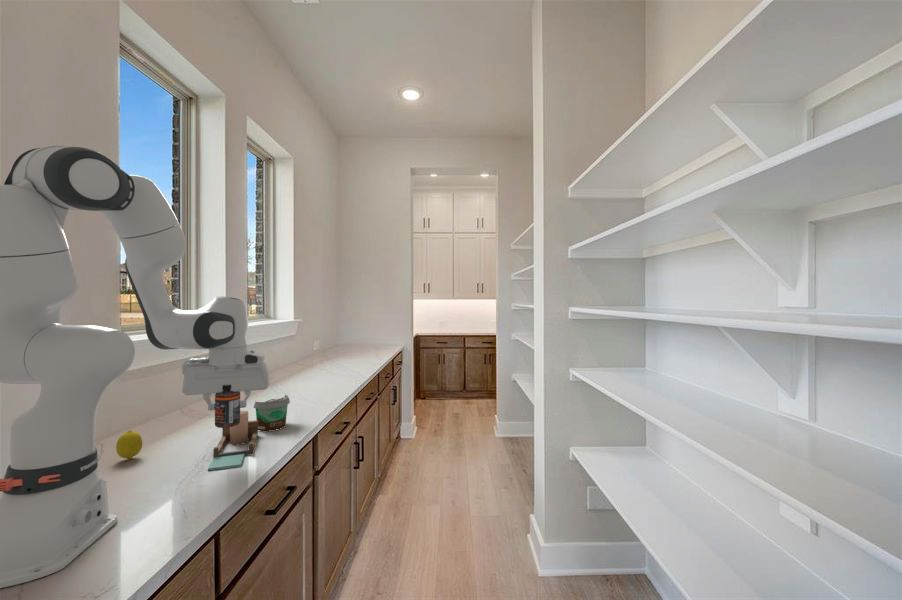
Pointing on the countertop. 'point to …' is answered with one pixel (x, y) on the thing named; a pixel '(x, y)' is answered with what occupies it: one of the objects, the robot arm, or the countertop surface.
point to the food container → (272, 413)
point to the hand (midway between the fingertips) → (227, 408)
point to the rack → (226, 436)
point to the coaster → (226, 462)
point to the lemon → (129, 444)
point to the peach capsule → (240, 430)
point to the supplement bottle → (227, 408)
